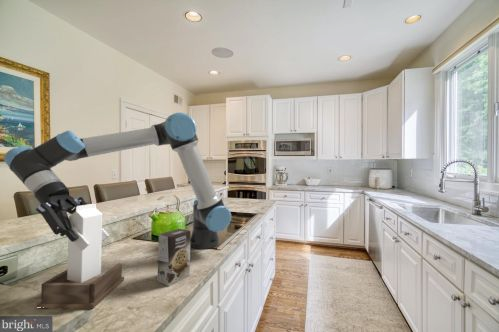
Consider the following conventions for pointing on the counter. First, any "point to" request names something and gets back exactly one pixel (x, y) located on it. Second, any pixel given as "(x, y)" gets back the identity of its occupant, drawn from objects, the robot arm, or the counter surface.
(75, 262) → the milk
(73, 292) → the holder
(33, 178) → the robot arm
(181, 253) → the cookie box
